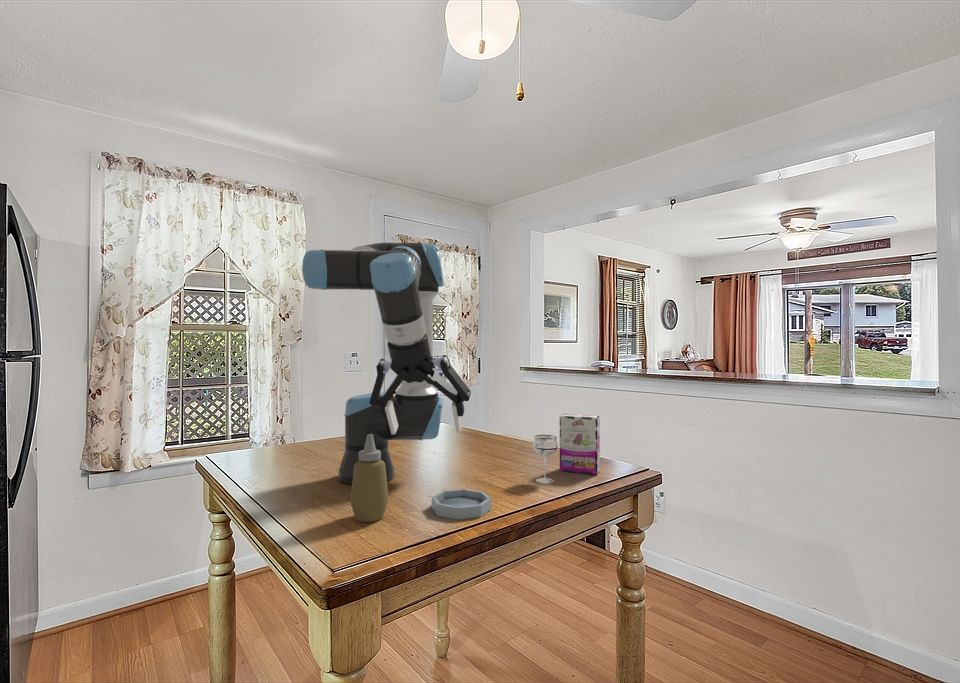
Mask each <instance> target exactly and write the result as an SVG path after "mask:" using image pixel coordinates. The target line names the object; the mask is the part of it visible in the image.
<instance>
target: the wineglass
mask: <svg viewBox="0 0 960 683" xmlns="http://www.w3.org/2000/svg"><path fill="white" fill-rule="evenodd" d="M532 437H533V439H534V440H533V442H532V447H533V450H534V451H535V452H536V453H537V454H538V455H540V456H541V457H542V458H543V473H544V474H543V475H544V476H543V477H540V478H536V479H535V481H536V482H537V483H539V484H552V483H554V482H555V480H554V479H552V478H549V477H547V460H548V458H549V456H552V455H553V454H554V453H555V452H556V451H557V450H558V448H559V447H558V445H559V444H558V441H557V439H558V436H557V435H553V434H535V435H533V436H532Z"/></svg>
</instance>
